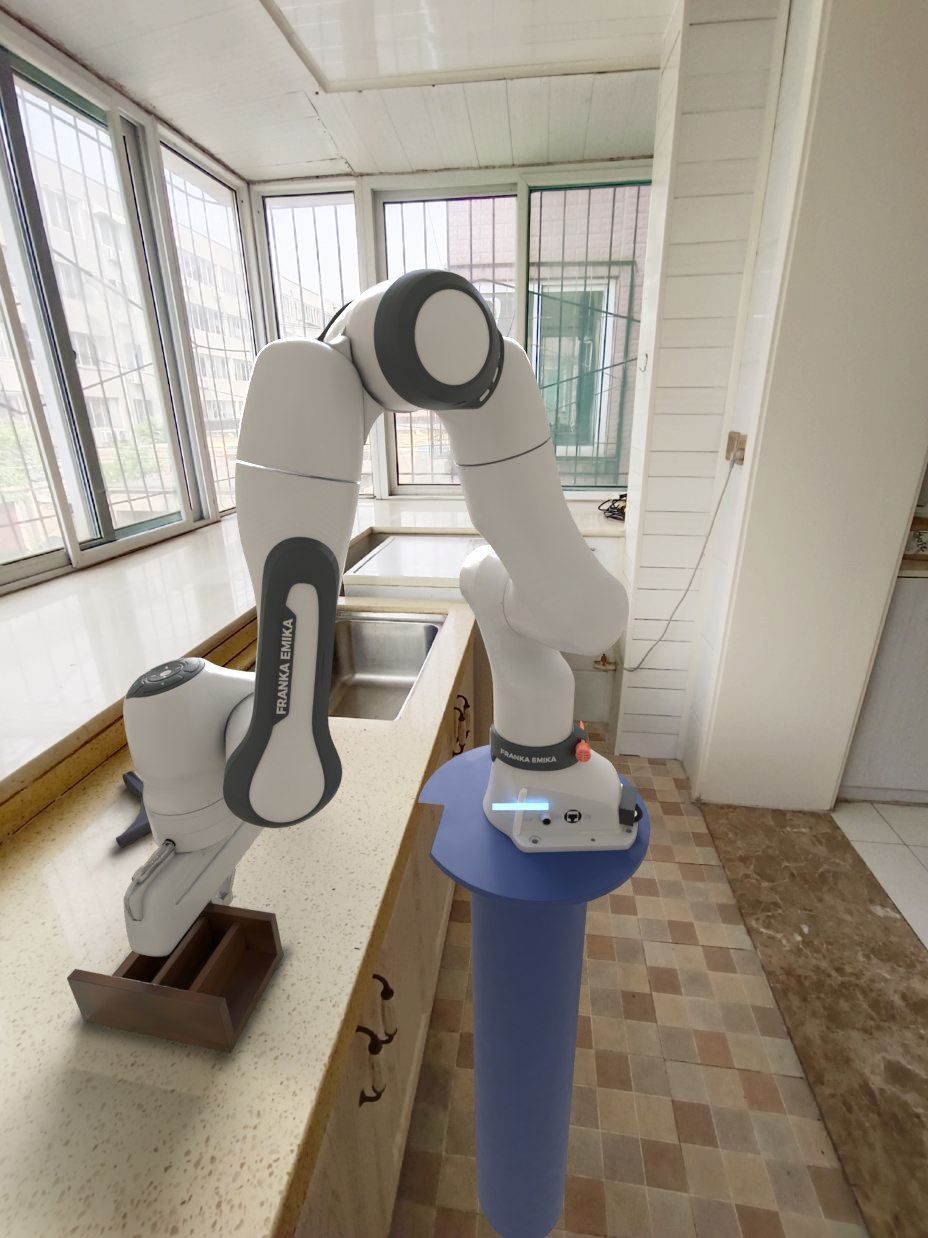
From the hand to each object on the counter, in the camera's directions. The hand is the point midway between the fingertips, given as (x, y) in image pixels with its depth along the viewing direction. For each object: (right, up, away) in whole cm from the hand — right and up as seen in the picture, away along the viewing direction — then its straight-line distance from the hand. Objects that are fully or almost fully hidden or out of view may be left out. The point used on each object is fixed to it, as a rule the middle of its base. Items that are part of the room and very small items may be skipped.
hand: (221, 908), depth 61 cm
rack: (-1, -5, -5) cm, 7 cm away
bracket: (-21, +4, +23) cm, 31 cm away
